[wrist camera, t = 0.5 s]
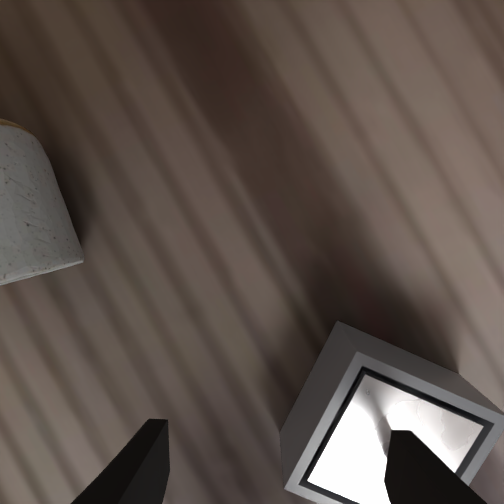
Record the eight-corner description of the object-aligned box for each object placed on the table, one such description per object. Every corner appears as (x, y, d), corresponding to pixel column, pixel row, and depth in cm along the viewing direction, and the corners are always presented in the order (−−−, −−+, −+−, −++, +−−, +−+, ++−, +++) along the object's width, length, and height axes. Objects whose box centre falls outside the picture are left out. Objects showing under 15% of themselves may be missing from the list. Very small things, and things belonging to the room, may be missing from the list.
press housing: (395, 482, 23) (427, 549, 18) (279, 432, 23) (283, 488, 18) (459, 374, 22) (510, 418, 17) (336, 320, 21) (357, 351, 17)
